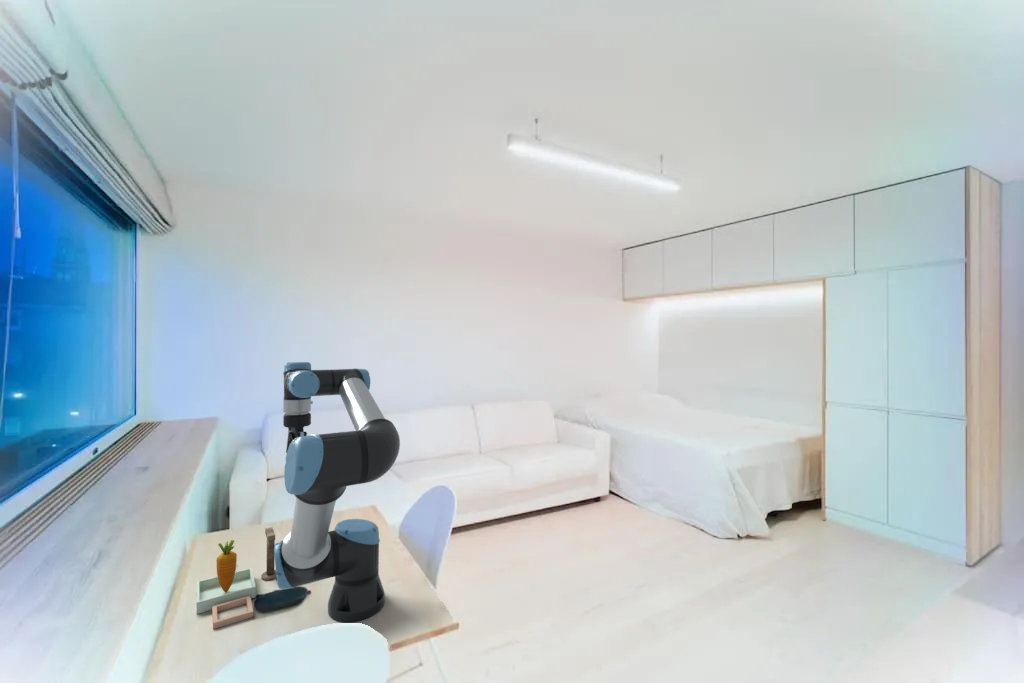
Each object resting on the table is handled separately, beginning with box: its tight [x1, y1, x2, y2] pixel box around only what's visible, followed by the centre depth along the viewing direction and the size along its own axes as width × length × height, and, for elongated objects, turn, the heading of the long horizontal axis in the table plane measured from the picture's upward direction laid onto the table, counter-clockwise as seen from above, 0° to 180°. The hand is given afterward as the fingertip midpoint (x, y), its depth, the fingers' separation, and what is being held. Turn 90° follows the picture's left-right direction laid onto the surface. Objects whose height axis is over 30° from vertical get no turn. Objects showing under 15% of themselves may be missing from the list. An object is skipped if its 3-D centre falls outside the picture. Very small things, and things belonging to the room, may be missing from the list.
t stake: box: [260, 526, 277, 582], centre depth 141 cm, size 8×5×14 cm, turn 35°
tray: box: [196, 567, 257, 615], centre depth 130 cm, size 13×14×3 cm
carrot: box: [216, 539, 238, 592], centre depth 130 cm, size 5×5×15 cm
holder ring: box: [211, 596, 254, 630], centre depth 121 cm, size 9×9×2 cm
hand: (296, 483), depth 134 cm, fingers open, 13 cm apart
